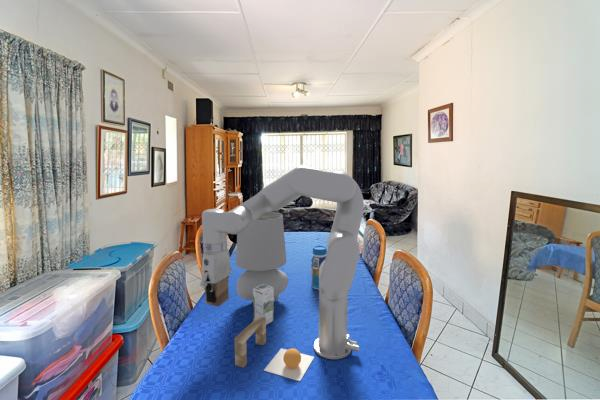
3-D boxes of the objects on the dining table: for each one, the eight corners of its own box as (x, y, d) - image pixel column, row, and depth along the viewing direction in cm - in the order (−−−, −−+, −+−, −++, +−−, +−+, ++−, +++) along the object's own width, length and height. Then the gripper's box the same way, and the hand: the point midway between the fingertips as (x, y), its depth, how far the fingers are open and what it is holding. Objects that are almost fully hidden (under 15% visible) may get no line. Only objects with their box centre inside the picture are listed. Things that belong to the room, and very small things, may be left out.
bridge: (266, 342, 114) (265, 318, 112) (243, 367, 100) (242, 340, 99) (258, 340, 115) (258, 316, 113) (235, 365, 102) (234, 338, 100)
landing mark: (314, 357, 105) (314, 356, 105) (299, 381, 94) (299, 380, 94) (281, 348, 110) (281, 348, 110) (263, 370, 99) (263, 370, 99)
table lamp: (282, 289, 157) (281, 208, 151) (295, 310, 137) (295, 217, 130) (234, 296, 150) (231, 211, 144) (240, 319, 129) (237, 221, 123)
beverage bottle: (308, 284, 163) (308, 245, 160) (324, 282, 165) (324, 244, 162) (314, 291, 155) (314, 250, 152) (330, 288, 157) (331, 249, 154)
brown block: (228, 298, 112) (227, 276, 111) (218, 306, 107) (216, 283, 105) (216, 296, 114) (215, 274, 113) (205, 303, 109) (204, 281, 107)
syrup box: (263, 316, 131) (263, 282, 129) (274, 321, 128) (273, 286, 125) (253, 322, 127) (252, 287, 125) (263, 327, 123) (263, 291, 121)
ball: (305, 349, 102) (289, 342, 104) (297, 358, 97) (281, 351, 99) (302, 364, 103) (287, 357, 105) (295, 374, 98) (279, 367, 100)
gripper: (207, 255, 98) (210, 311, 101) (239, 240, 114) (241, 289, 116) (187, 252, 101) (191, 306, 104) (221, 238, 117) (223, 286, 119)
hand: (217, 297), depth 110 cm, fingers closed on brown block, 6 cm apart
